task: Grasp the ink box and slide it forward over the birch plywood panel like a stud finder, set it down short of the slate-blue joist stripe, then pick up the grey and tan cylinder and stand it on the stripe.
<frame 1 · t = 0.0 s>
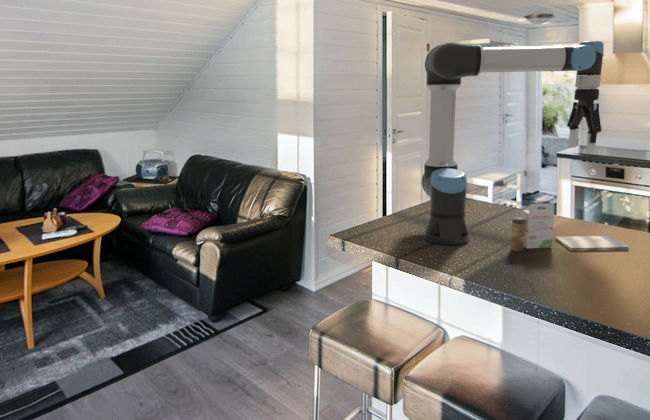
hand: (581, 150, 183), 28 cm above the countertop, fingers open, 13 cm apart
plywood panel: (590, 244, 169), on the countertop
ink box: (535, 246, 169), on the countertop
grey and tan cylinder: (516, 249, 166), on the countertop
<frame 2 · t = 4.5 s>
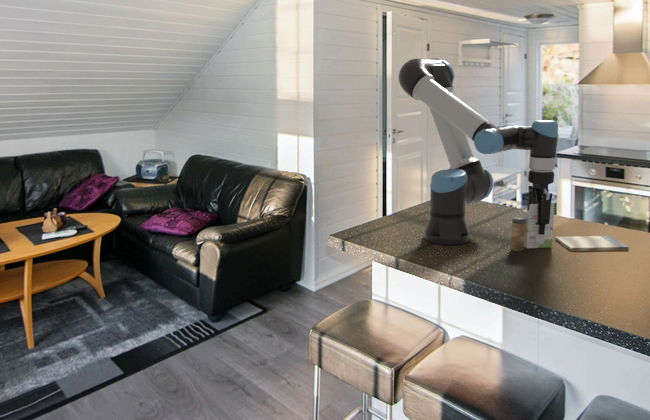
hand: (535, 240, 168), 2 cm above the countertop, fingers closed on ink box, 5 cm apart
ink box: (535, 246, 169), on the countertop, touching gripper
everything else where it was.
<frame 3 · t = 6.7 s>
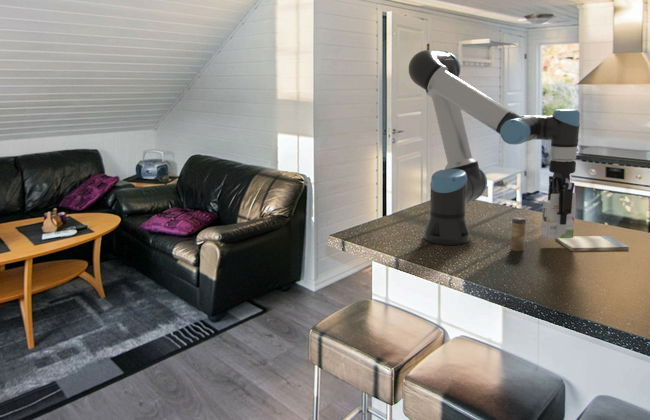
hand: (557, 231, 167), 5 cm above the countertop, fingers closed on ink box, 5 cm apart
ink box: (556, 236, 167), point 3 cm above the countertop, touching gripper
everything else where it was.
when the fingers open (3 cm above the countertop, at t = 8.9 s): ink box stays where it is, resting on plywood panel.
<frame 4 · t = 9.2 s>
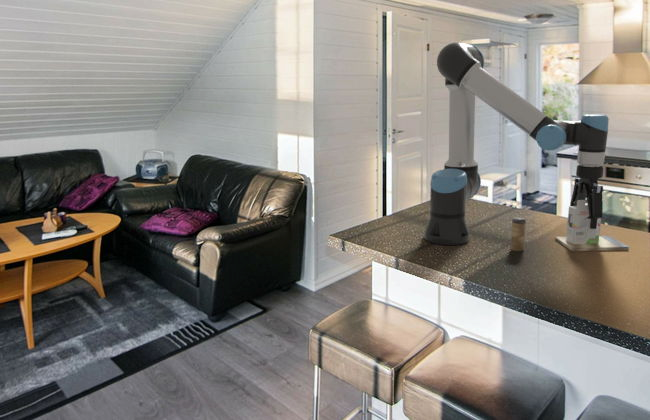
hand: (583, 233, 167), 4 cm above the countertop, fingers open, 9 cm apart
ink box: (581, 242, 168), point 1 cm above the countertop, touching plywood panel
everything else where it was.
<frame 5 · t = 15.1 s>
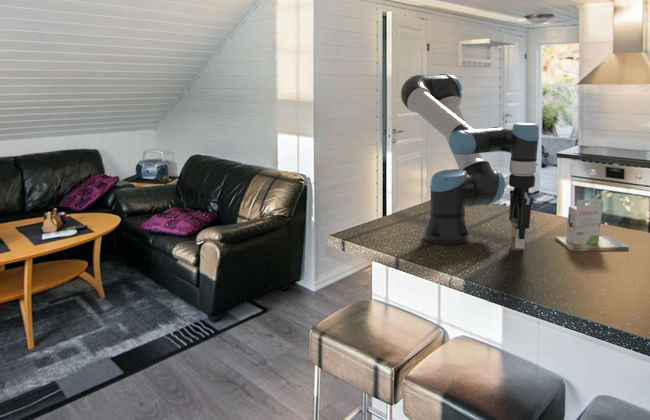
hand: (517, 245, 165), 1 cm above the countertop, fingers closed on grey and tan cylinder, 4 cm apart
grey and tan cylinder: (516, 249, 166), on the countertop, touching gripper
everything else where it was.
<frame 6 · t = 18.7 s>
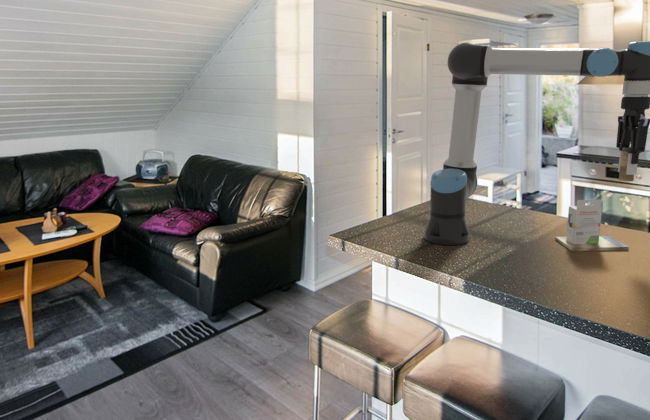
hand: (626, 172, 160), 24 cm above the countertop, fingers closed on grey and tan cylinder, 4 cm apart
grey and tan cylinder: (626, 179, 161), point 22 cm above the countertop, touching gripper
everything else where it was.
when the fingers open (3 cm above the countertop, at t = 22.7 s): grey and tan cylinder stays where it is, resting on plywood panel.
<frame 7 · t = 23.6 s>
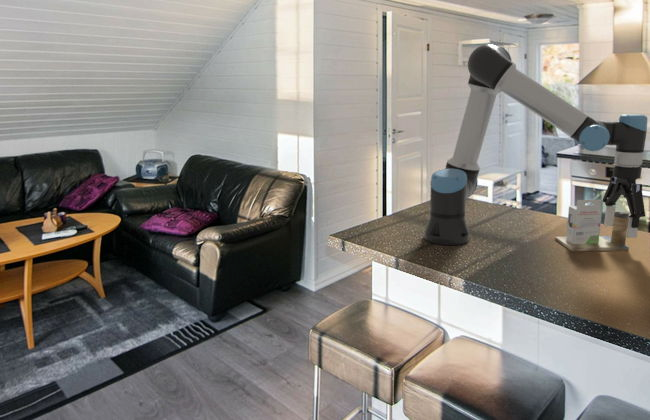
hand: (619, 231, 165), 5 cm above the countertop, fingers open, 13 cm apart
grey and tan cylinder: (617, 243, 166), point 1 cm above the countertop, touching plywood panel
everything else where it was.
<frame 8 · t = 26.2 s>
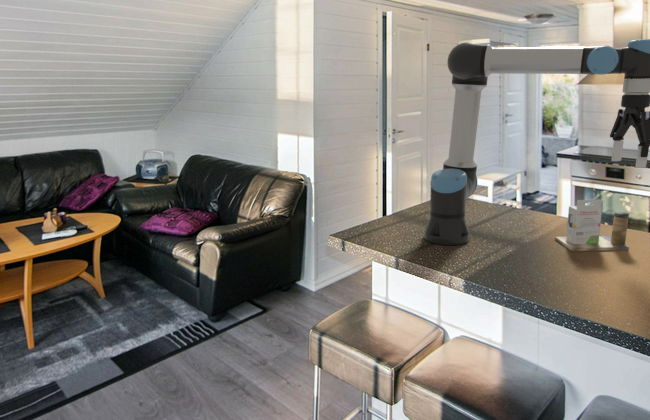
hand: (627, 164, 159), 27 cm above the countertop, fingers open, 13 cm apart
nothing on the countertop moved.
at the end: ink box inside the target area (0.4 cm from its centre), point 0.8 cm above the countertop; grey and tan cylinder inside the target area (0.0 cm from its centre), point 1.1 cm above the countertop; grey and tan cylinder tilted 0° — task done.
